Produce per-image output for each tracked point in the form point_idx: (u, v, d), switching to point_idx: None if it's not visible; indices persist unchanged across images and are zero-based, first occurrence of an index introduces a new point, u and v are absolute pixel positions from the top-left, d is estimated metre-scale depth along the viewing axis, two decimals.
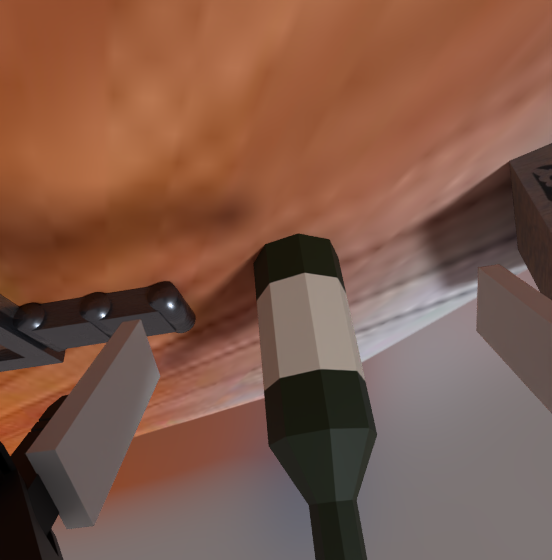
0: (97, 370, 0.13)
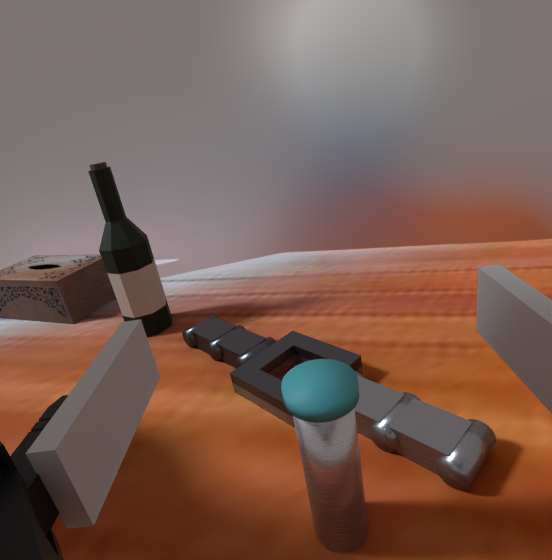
0: (97, 370, 0.13)
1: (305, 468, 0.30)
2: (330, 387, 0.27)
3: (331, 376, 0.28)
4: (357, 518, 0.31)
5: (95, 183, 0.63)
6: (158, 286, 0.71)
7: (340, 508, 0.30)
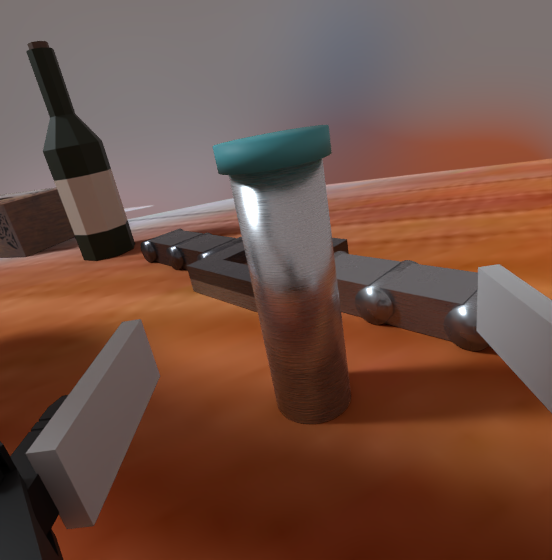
0: (97, 370, 0.13)
1: (255, 286, 0.20)
2: (285, 134, 0.18)
3: (290, 131, 0.19)
4: (333, 367, 0.21)
5: (34, 66, 0.54)
6: (115, 200, 0.61)
7: (307, 344, 0.20)
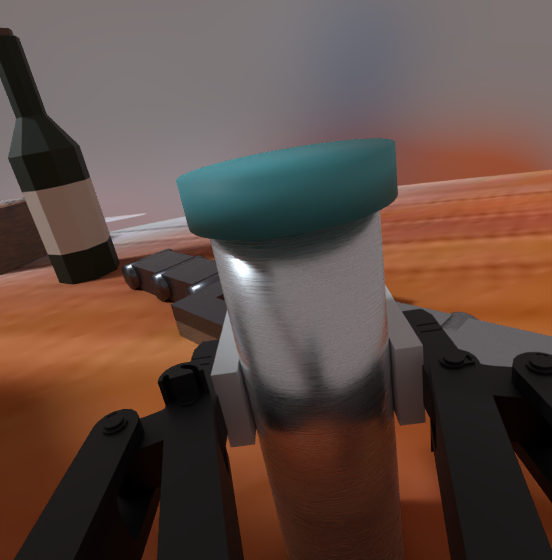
0: None
1: (255, 413, 0.12)
2: (312, 157, 0.09)
3: (319, 150, 0.10)
4: (384, 537, 0.13)
5: None
6: (95, 214, 0.53)
7: (343, 513, 0.12)
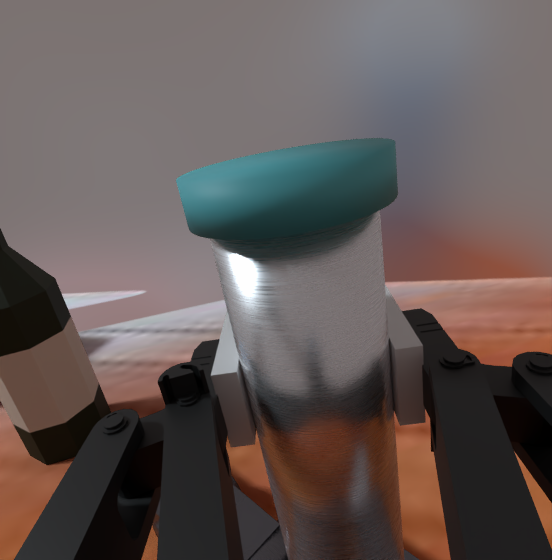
0: None
1: (255, 413, 0.12)
2: (312, 157, 0.09)
3: (319, 150, 0.10)
4: (384, 537, 0.13)
5: None
6: (77, 371, 0.39)
7: (343, 513, 0.12)
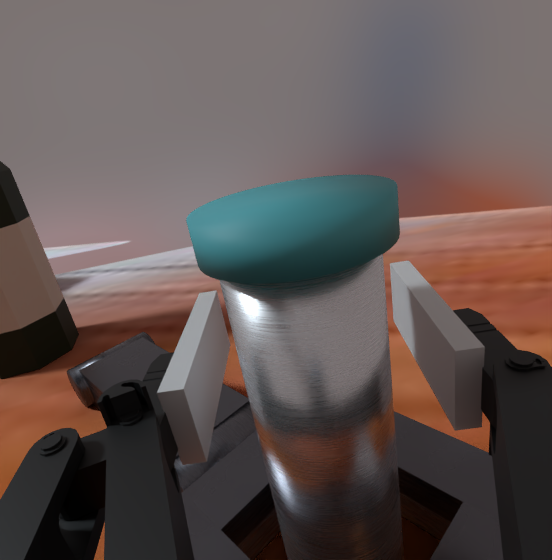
0: (193, 330, 0.14)
1: (261, 439, 0.12)
2: (317, 199, 0.10)
3: (324, 189, 0.11)
4: (386, 558, 0.13)
5: None
6: (34, 273, 0.35)
7: (347, 536, 0.12)
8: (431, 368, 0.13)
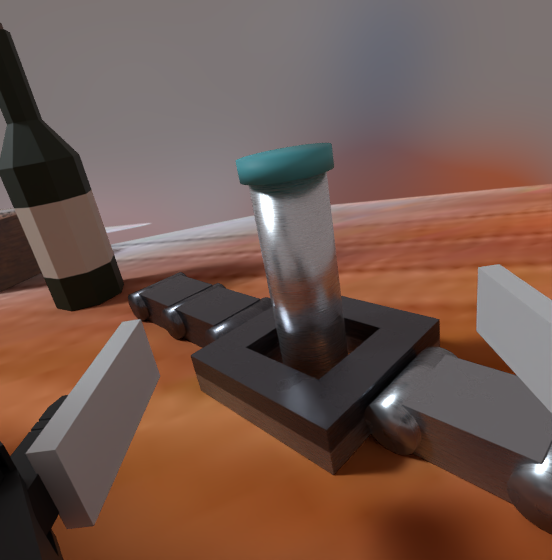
0: (97, 370, 0.13)
1: (269, 277, 0.24)
2: (295, 151, 0.22)
3: (299, 148, 0.23)
4: (334, 346, 0.25)
5: None
6: (97, 232, 0.47)
7: (312, 326, 0.24)
8: None
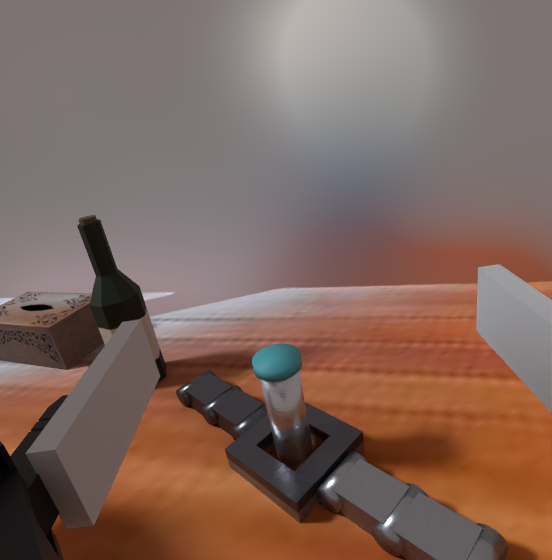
0: (97, 370, 0.13)
1: (269, 415, 0.46)
2: (282, 360, 0.43)
3: (284, 354, 0.44)
4: (304, 449, 0.47)
5: (84, 238, 0.61)
6: (151, 338, 0.68)
7: (291, 441, 0.46)
8: None
